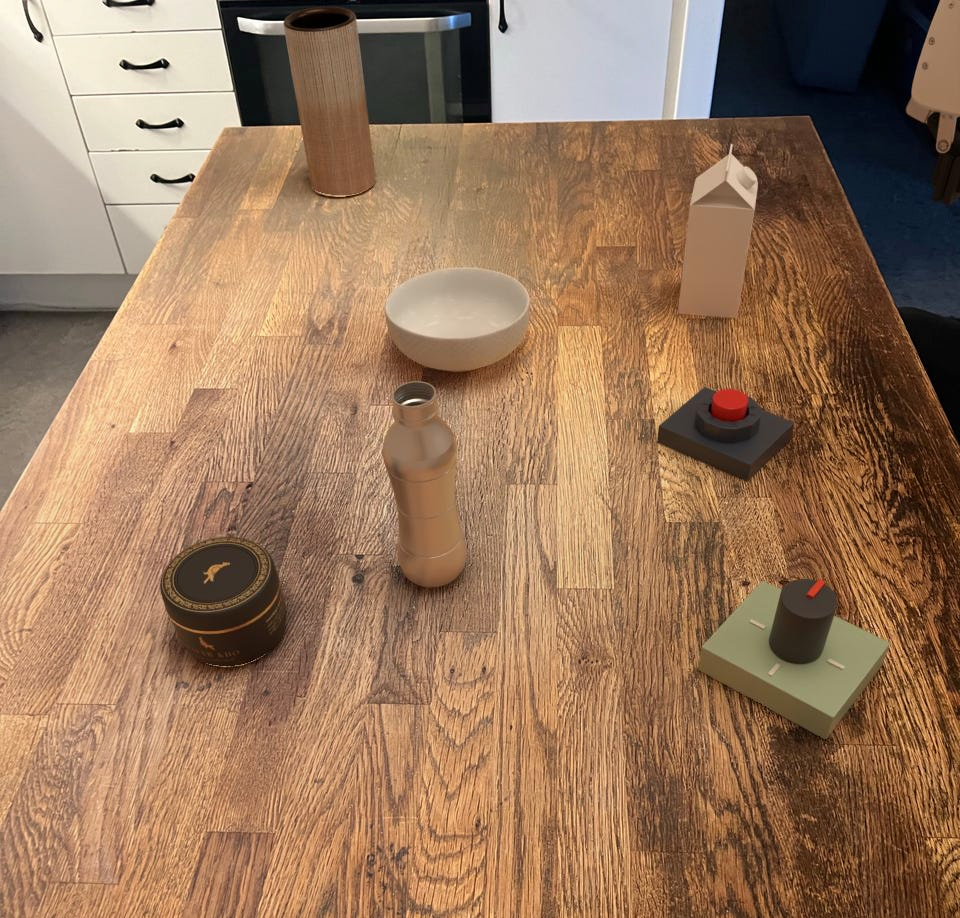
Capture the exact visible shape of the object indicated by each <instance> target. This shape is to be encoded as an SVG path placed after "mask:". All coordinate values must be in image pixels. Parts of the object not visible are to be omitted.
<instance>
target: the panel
mask: <svg viewBox="0 0 960 918" xmlns="http://www.w3.org/2000/svg"><path fill="white" fill-rule="evenodd" d="M781 590H782V588H781V589H780V588H778V587H777V586H774V585H772V584H770V583H769V582H766V581H764V580H761V581H760V583H758V585H757V586H756V587H755V588H754V589H752V591H751V592H750V594H748V595H747V596H746V598H745V599H744V600H743V601H742V602H741V603H740V604H739V605H738V606H737V607H736V609H734V611H733V612H732V613H731V614H730V615H728V618H727V619H726V620H725V621H723V623H721V625H720V626H719V627H718V628H717V629H716V630H715V632H713V633H712V635H710V637H709V638H708V639H707V640H706V641H705V642H704V643H703V645H702V646H701V647H700V654H699V658H698V664H697V671H699V672H701V673H702V674H705V675H706V676H709V678H712V679H713V680H715V681H718V682H719V683H720V684H723V685H725V686H726V685H727V686H726V687H728V688H730V689H732V690H733V691H735V692H737V691H738V692H737V693H739V692H740V693H739V694H741V695H743V696H745V695H746V696H747V697H746V696H745V697H746V698H748V697H749V698H748V699H750V698H751V699H750V700H752V699H753V700H752V701H754V702H756V701H757V702H758V703H757V702H756V703H757V704H759V703H761V704H762V705H761V704H760V705H761V706H762V707H765V706H766V707H767V709H768V708H769V709H768V710H771V711H772V712H773V713H776V714H777V715H779V716H781V717H783V718H785V719H787V720H788V721H790V722H791V723H793V724H795V725H798V727H801V728H803V729H804V730H806V731H808V732H810V733H812V734H814V735H816V736H817V737H819V736H820V737H819V738H821V739H823V740H825V739H826V740H827V739H828V738H829V736H830V735H831V734H832V732H833V731H834V730H835V728H836V727H837V726H838V725H839V723H840V722H841V721H842V719H843V718H844V716H845V715H846V714H847V713H848V711H849V710H850V709H851V707H852V706H854V705H853V704H854V703H855V702H856V701H857V700H858V698H859V697H860V696H861V694H862V693H863V692H864V690H865V689H866V687H867V686H868V685H869V683H870V682H871V681H872V680H873V678H875V676H876V675H877V673H878V672H879V670H880V669H881V668H882V667H883V664H884V661H885V659H886V656H887V654H888V652H889V648H890V647H891V642H890V641H887V640H886V639H883V638H882V637H880V636H877V635H875V634H874V633H871V632H869V631H867V630H865V629H863V628H861V627H859V626H857V625H855V624H853V623H851V622H848V621H847V620H845V619H842V618H840V617H838V616H836V615H834V618H833V621H832V624H831V627H830V630H829V634H828V637H827V640H826V643H825V646H824V649H823V652H822V654H821V656H820V657H819V658H818V659H816V660H815V661H813V662H810V663H806V664H795V663H790V662H787V661H785V660H783V659H781V658H779V657H778V656H777V655H776V654H775V653H774V652H773V651H772V650H771V648H770V645H769V637H770V633H771V629H772V625H773V621H774V617H775V613H776V609H777V605H778V601H779V597H780V593H781ZM766 707H765V708H766Z"/></svg>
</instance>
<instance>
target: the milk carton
mask: <svg viewBox="0 0 960 918" xmlns="http://www.w3.org/2000/svg"><path fill="white" fill-rule="evenodd" d="M733 146H734V144H733V143H730V146H729V152H728V154H727V155H726V156H724V157H723V158H721V159H720V160H719V161H717V162H716V163H715V164H713V165H712V166H711V167H709V168H708V169H707V170H705V171H704V172H702V173H701V174H700V175H698V176H696V178H695V180H694V185H693V189H692V193H691V199H690V201H689V203H690V204H689V209H688V216H687V217H688V218H687V227H686V236H685V244H684V254H683V263H682V272H681V278H680V279H681V281H680V288H679V289H680V290H679V299H678V305H677V306H678V307H677V314H680V315H691V316H705V317H714V318H715V317H717V318H727V319H738V315H739V310H740V303H741V297H742V291H743V284H744V279H745V272H746V267H747V261H748V254H749V248H750V242H751V236H752V229H753V222H754V216H755V210H756V202H757V195H758V189H759V182H758V177H757V175H756V173H755V172H754V171H753V169H751V168H750V167H749V166H746V165H745V166H744V165H743V164H742V163H741V162H740V161H739V160H738V159H737V158H736V157H735V156H734V154H732V153H733Z"/></svg>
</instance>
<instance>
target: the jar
mask: <svg viewBox="0 0 960 918" xmlns="http://www.w3.org/2000/svg"><path fill="white" fill-rule="evenodd" d="M273 559H274V558H272V556H271V553H269V551H268V550H267V549H266V548H265V547H263V546H262V545H261V544H260V543H258V542H256V541H254V540H252V539H248V538H245V537H240V536H219V537H212V538H208V539H204V540H201V541H199V542H196V543H194V544H191V545H190V546H187V547H186V548H185V549H183V550H181V551H180V552H178V553H177V554H176V555H175V556H174V557H172V559H171V560H170V561H169V563H167V565H166V566H165V568H164V570H163V572H162V574H161V577H160V582H159V585H160V586H159V589H160V590H159V591H160V596H161V598H162V602H163V605H164V609H165V612H166V613H167V616H168V617H169V619H170V620H171V622H172V625H173V627H174V630H175V632H176V634H177V637H178V639H179V641H180V643H181V644H182V646H183V647H184V649H185V650H186V651H188V653H189V654H190V655H191V656H192V657H193V656H194V657H195V658H194V657H193V658H194V659H196V658H197V659H198V660H197V659H196V660H197V661H199V660H200V661H202V662H204V663H208V664H212V665H219V666H235V665H241V664H245V663H248V662H251V661H253V660H255V659H257V658H259V657H261V656H263V655H264V654H266V653H268V652H269V651H270V650H271V651H273V650H274V648H276V646H277V645H278V644H279V643H280V641H281V639H282V638H283V635H284V633H285V630H286V624H287V606H286V602H285V599H284V594H283V591H282V588H281V580H280V575H279V572H278V570H277V567H276V564H275V561H274V560H273ZM271 651H270V652H271ZM270 652H269V653H270ZM269 653H268V654H269ZM200 661H199V662H200ZM202 662H201V663H202ZM204 663H203V664H204Z"/></svg>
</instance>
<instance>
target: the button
mask: <svg viewBox="0 0 960 918" xmlns="http://www.w3.org/2000/svg"><path fill="white" fill-rule="evenodd" d="M747 396H748V395H747V394H746V393H744V392H743V391H741V390H738V389H735V388H724V389H721V390H717V391H716V393H715V394H714V396H713V400H712V407H711V414H712V416H713V417H714V418H717V419H719V420H721V421H727V422H735V421H739V420H742V419H744V418H745V416H746V412H747V406H748V397H749V396H748V397H747Z"/></svg>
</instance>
